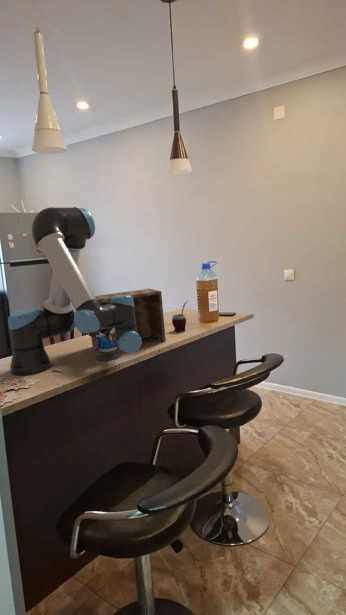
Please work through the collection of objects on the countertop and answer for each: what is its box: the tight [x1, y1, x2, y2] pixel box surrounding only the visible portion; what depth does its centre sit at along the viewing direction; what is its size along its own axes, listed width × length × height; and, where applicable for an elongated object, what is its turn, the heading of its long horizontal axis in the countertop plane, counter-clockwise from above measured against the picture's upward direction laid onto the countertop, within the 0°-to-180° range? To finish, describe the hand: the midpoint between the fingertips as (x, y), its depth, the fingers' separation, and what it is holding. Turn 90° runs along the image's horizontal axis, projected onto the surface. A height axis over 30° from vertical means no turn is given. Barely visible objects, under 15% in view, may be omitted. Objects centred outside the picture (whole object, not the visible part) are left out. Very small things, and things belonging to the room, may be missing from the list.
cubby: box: [90, 288, 167, 355], centre depth 187 cm, size 30×15×23 cm, turn 114°
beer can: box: [97, 327, 118, 353], centre depth 168 cm, size 8×8×16 cm
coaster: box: [95, 352, 122, 362], centre depth 170 cm, size 10×10×1 cm
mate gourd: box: [171, 299, 189, 333], centre depth 207 cm, size 8×8×15 cm
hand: (102, 326), depth 172 cm, fingers closed on beer can, 8 cm apart
